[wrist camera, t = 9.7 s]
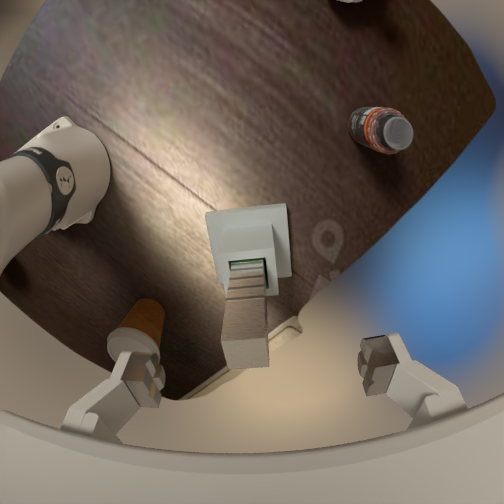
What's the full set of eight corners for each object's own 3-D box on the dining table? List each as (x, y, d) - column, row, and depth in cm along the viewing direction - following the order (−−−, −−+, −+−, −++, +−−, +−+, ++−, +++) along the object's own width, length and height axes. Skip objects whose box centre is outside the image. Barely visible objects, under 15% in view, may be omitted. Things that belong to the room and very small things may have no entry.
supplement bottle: (385, 143, 40) (422, 157, 30) (349, 147, 40) (378, 162, 30) (380, 105, 37) (418, 107, 27) (343, 108, 38) (372, 110, 27)
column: (236, 281, 42) (228, 369, 28) (232, 255, 40) (220, 341, 26) (265, 278, 42) (269, 366, 28) (262, 252, 40) (265, 337, 26)
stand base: (219, 278, 51) (212, 316, 42) (206, 212, 45) (194, 240, 36) (290, 271, 50) (297, 308, 41) (285, 203, 44) (292, 229, 36)
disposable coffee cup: (173, 333, 57) (160, 378, 46) (129, 324, 57) (109, 367, 46) (173, 295, 53) (156, 341, 42) (125, 287, 52) (100, 329, 42)
